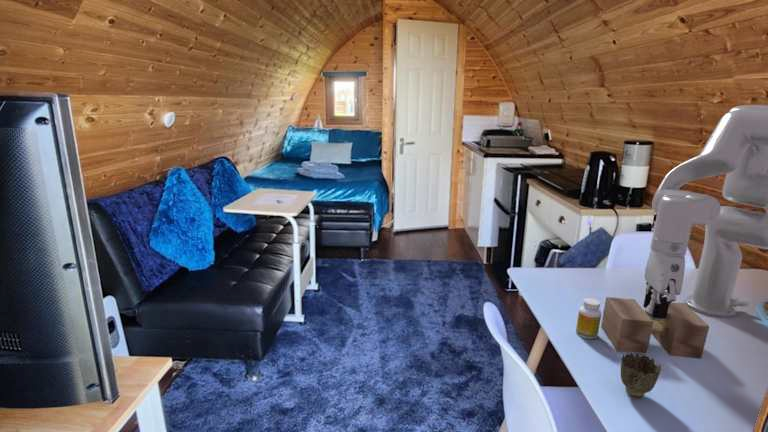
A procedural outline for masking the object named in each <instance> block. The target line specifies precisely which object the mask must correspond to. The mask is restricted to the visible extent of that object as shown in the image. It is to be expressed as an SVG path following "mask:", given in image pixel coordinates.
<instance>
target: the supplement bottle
mask: <svg viewBox="0 0 768 432" xmlns="http://www.w3.org/2000/svg"><path fill="white" fill-rule="evenodd" d="M600 306H601V301H600V300H598V299H595V298H591V297H586V298H584V299H583V302H582V305H581V306H580V307H579V310H578V316H577V322H576V327H575V333H576V334H577V335H578V336H579V337H581V338H583V339H588V340H594V339H595V340H596V338H597V337H598V335H599V330H600V326H601V325H600V323H601V320H602V310H601V309H600Z"/></svg>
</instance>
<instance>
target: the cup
mask: <svg viewBox="0 0 768 432" xmlns="http://www.w3.org/2000/svg"><path fill="white" fill-rule="evenodd" d="M634 354H635V355H634ZM655 361H656V360H655V359H654V358H650V356H648V355H646V354H643V355H640V353H634V352H626V354H622V356H621V358H620V380H621V382H622V384H623V385H624V386H625V392H626V393H627V394H628V396H630V397H632V398H636V399H641V398H643V397H644V396H645V395H646V394H647V393H649V392H651V391H652V390H653V389H654V387H655V385H656V384H657V381H658V379H659V376H660V373H661V372H662V368H661V367H662V366H661V364H660V363H659V364H655Z"/></svg>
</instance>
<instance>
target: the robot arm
mask: <svg viewBox="0 0 768 432" xmlns="http://www.w3.org/2000/svg"><path fill="white" fill-rule="evenodd" d="M721 175H726V176H725V179H724V182H723V186H722V190H721V191H722V193H721V194H722V197H723V199H725V200H727V201H729V202H733V203H736V204H741V205H746V206H752V207H756V208H762V209H764V210H765V212H764V213H763V212H760V211H754V210H750V209H745V208H739V207H734V206H729V205H728V206H727V205H722V206H721V204H720V201H719V200H718V199H717V198H716V197H714V196H712V195H709V194H705V193H704V194H703V193H698V192H694V191H689V190H685V189H681V188H682V186H684V185H686V184H687V183H690V182H693V181H696V180H700V179H705V178H710V177H715V176H717V177H718V176H721ZM651 207H652V210H653V212H654V213H655V214H656V216H655V217H656V219H655V221H654V222H655V223H654V227H653V231H652V232H653V233H652V238H651V241H650V247H649V249H650V250H649V251H650V252H649V255H648V258H647V262H646V265H645V270H644V279H645V281H646V288H645V297H644V301H643V308H644V309H645V308H646V307H647V306H648V305H649V304H650V301H651V298H652V297H651V295H652V291H651V290H652V289H653V288H654V289H655V290H656V291H657V303H656V302H655V303H654V308H653V312H652V317H653V318H661V319H665V318H666V317H667V312H668V308H669V305H670V304H671V302H673V303H674V302H675V301H676V300H677V296H679V295H681V292H682V289H683V283H684V277H685V268H686V255H687V250H688V245H689V241H690V237H691V233H692V228H693V226H705V229H704V230H705V231H704V232H705V233H704V242H703V247H702V252H701V255H700V260H699V264H698V269H697V273H696V277H695V281H694V285H693V290H692V293H691V295H688V296H685V298H684V303H685V304H686V305H687V306H688V307H689V308H690V309H691V310H692V311H695V312H698V313H701V314H703V315H707V316H712V317H716V318H730V317H733V316H734V315H735V314H736V309H735V308H737V307H741V308H742V307H743V308H744V307H746V308H748V307H749V300H747V299H746V300H745V299H739V297H737V296H733V294H734V292H735V286H736V284H737V280H738V276H739V273H740V268H741V265H742V259H743V255H742V251H741V248H740V247H739V244H740V245H741V244H742V245H746V246H749V247H754V248H758V249H763V250H768V105H766V104H765V105H764V104H763V105H762V104H760V105H759V104H744V105H738V106H735V107H733V108H731V109H730V110H729V111H728V112H726V113H725V114H723V116H722V117H720V120H719V121H718V123H717V125H716V126H715V128H714V130H713V131H712V133H711V135H710V136H709V138H708V139H707V140H706V143H705V145H704V146H703V148H702V150H701V152H700V154H698V155H696V156H695V157H692V158H690V159H688V160H686V161H684V162H682V163H680V164H679V165H677V166H675V167H674V168H673V169H671V170H670V171H669V172H668V173H667V174H666V175H665V176H664V177H663V178H662V180H661V182H660V183H659V186H658V188H657V189H656V191H655V193H654V195H653V198H652V202H651ZM664 290H665V292H663V291H664ZM662 295H664V296H663V298H662ZM661 298H662V299H661Z"/></svg>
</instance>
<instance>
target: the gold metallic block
mask: <svg viewBox="0 0 768 432" xmlns="http://www.w3.org/2000/svg"><path fill="white" fill-rule="evenodd" d="M653 321H654V323H653V327H652V332H651V335H652V334H659V335H666V334H667V331H666V330H665V329H664V328H663V327H662V325H661V324H660V323H659V322H658V321H656V320H653Z"/></svg>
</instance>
